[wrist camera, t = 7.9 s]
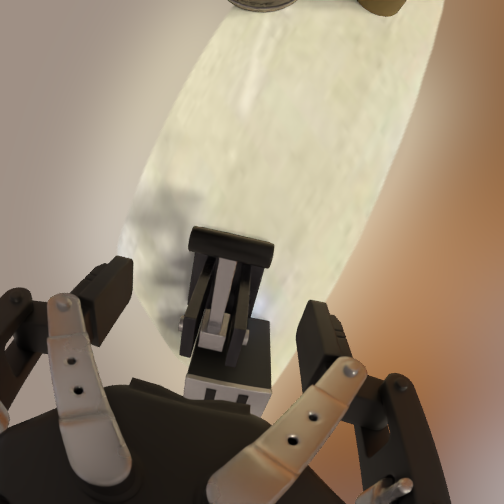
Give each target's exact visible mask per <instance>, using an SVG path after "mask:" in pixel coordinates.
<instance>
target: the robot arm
mask: <svg viewBox="0 0 504 504" xmlns="http://www.w3.org/2000/svg"><path fill="white" fill-rule="evenodd" d="M228 1H229V2H231V3H232V4H234V5H236V6H238V7H240V8H243V9H246V10H250V11H258V12H268V11H275V10H279V9H283V8H285V7H288V6H290V5H291V4H293V3H294V2H296V1H297V0H228ZM132 290H133V260H132V259H129V258H125V257H122V256H115V257H114V259H113V260H112V261H110V263H108V264H106V263H104V264H101V265H100V266H97V267H95V268H94V269H93V270H92V271H91V272H90V274H88V275H87V276H86V277H85V279H83V280H82V281H81V282H80V283H79V284H78V285H77V286H76V287H75V288H74V289H73V290H72V291H71V292H70V293H60V294H56V295H54V296H52V297H51V298H50V299H49V300H48V302H41V301H32V296H31V293H30V291H29V290H27V289H25V288H13V289H11V290H8V291H7V292H6V293H5V294H4V295H3V296H2V297H1V298H0V504H346V503H345V502H344V501H342V500H341V499H340V498H339V497H338V496H337V495H336V494H335V493H334V492H333V491H332V490H331V489H330V488H329V487H328V486H327V484H325V482H324V481H323V480H322V479H321V478H320V477H319V476H318V475H317V474H316V473H315V472H314V471H313V470H312V469H311V468H310V467H309V466H308V464H309V462H310V461H311V460H312V459H313V458H314V456H315V455H316V454H317V452H318V451H319V449H321V447H322V446H323V445H324V443H325V442H326V440H327V439H328V438H329V436H330V435H331V434H332V432H333V431H334V429H335V428H336V426H337V425H338V424H339V422H340V421H344V422H347V423H351V424H354V428H355V435H356V441H357V448H358V455H359V462H360V469H361V477H362V485H363V492H362V493H361V494H360V495H359V496H358V497H357V499H356V501H355V504H451V501H450V496H449V492H448V488H447V484H446V481H445V477H444V473H443V470H442V466H441V463H440V460H439V456H438V453H437V450H436V447H435V443H434V440H433V438H432V434H431V431H430V428H429V425H428V423H427V420H426V417H425V414H424V412H423V409H422V406H421V404H420V401H419V398H418V395H417V393H416V390H415V388H414V385H413V384H412V382H411V381H410V380H409V379H408V378H407V377H405V376H404V375H401V374H398V373H391V374H389V375H388V376H387V377H386V379H385V380H381V379H378V378H375V377H372V376H369V375H367V370H366V368H365V366H364V365H363V364H362V363H361V362H360V361H358V360H356V359H354V358H353V357H352V354H351V351H350V348H349V345H348V342H347V339H346V336H345V333H344V332H343V327H342V325H341V322H340V321H339V320H338V319H337V318H336V317H335V316H334V315H330V313H329V310H328V307H327V304H326V303H324V302H319V301H314V300H309V301H308V303H307V305H306V308H305V310H304V313H303V315H302V318H301V320H300V323H299V325H298V328H297V332H296V344H297V352H298V359H299V367H300V375H301V383H302V392H303V394H302V395H301V396H300V398H299V399H298V400H297V401H296V402H295V403H294V404H293V405H292V406H291V407H290V408H289V409H288V410H287V411H286V412H285V413H284V414H283V415H282V416H281V417H280V418H279V419H278V420H277V421H276V422H275V423H274V424H273V425H270V424H269V423H268V422H267V421H265V420H263V419H262V418H260V417H258V416H256V415H254V414H251V413H250V406H251V405H249V404H243V403H237V402H231V401H226V400H194V399H187V398H185V397H183V396H181V395H179V394H177V393H174V392H172V391H170V390H168V389H166V388H164V387H162V386H160V385H157V384H153V383H150V382H146V381H143V380H140V379H136V378H132V380H131V382H130V385H112V386H108V387H103V386H102V382H101V379H100V376H99V373H98V369H97V366H96V362H95V359H94V356H93V352H92V348H91V344H92V345H94V346H97V347H100V346H101V344H102V342H103V341H104V339H105V337H106V336H107V334H108V333H109V331H110V330H111V328H112V327H113V325H114V323H115V322H116V321H117V319H118V317H119V316H120V314H121V313H122V311H123V310H124V308H125V307H126V305H127V304H128V303H129V300H130V298H131V295H132ZM12 335H13V337H14V340H13V341H12V343H11V344H10V345H9V346H8V348H7V349H6V350H5V346H6V343H7V342H8V341H9V339H10V338H11V337H12ZM42 353H44V354H48V356H49V364H50V370H51V378H52V384H53V390H54V396H55V400H56V406H57V408H55V409H53V410H50V411H48V412H46V413H43V414H41V415H39V416H36V417H34V418H31V419H29V420H26V421H24V422H21V423H19V424H16V425H14V426H11V427H9V428H8V425H9V421H10V417H9V413H8V410H9V408H10V406H11V404H12V402H13V400H14V399H15V397H16V395H17V394H18V392H19V390H20V388H21V387H22V385H23V383H24V382H25V380H26V378H27V377H28V375H29V374H30V372H31V370H32V369H33V367H34V366H35V364H36V363H37V361H38V359H39V358H40V356H41V355H42ZM387 424H388V425H387ZM388 426H389V429H388ZM389 430H390V433H389Z"/></svg>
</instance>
